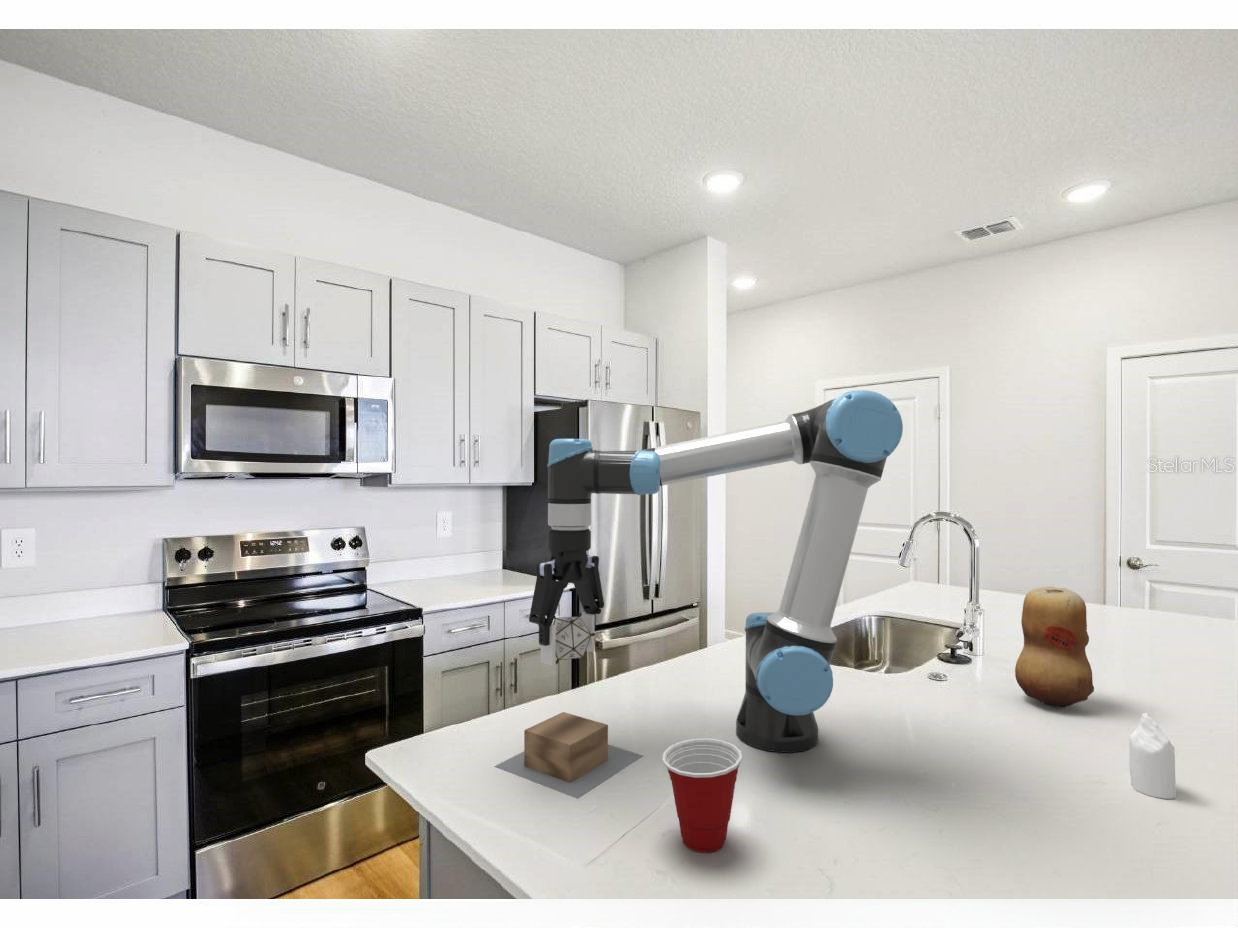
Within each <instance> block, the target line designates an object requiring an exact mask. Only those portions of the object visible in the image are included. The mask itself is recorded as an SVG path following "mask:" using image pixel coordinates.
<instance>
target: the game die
mask: <svg viewBox="0 0 1238 928" xmlns="http://www.w3.org/2000/svg"><path fill="white" fill-rule="evenodd" d="M582 613H583V612H582V611H581V612H579V614H578V616H564V617H556V615H555V616H554V619H553V622H552V625H555V626H556V645H555V665H557V664H559V662H560V661H565V660H573V659H575V660H576V659H582V661H583V662H585V663H586V661H587V660H586V657H584V656H585V654H586V652H587V651H586V649H587V646H588V643H589V640H590V638H591V636H594V637H595V636H596V633H595V632H594V633H592V634H591V633H590V632H589V630H588V629H587V627H586V625H585V624H584V622H583V621H582V619H581V618H580V617H581V615H582Z"/></svg>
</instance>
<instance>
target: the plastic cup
mask: <svg viewBox="0 0 1238 928" xmlns="http://www.w3.org/2000/svg"><path fill="white" fill-rule="evenodd" d="M661 760H662V762H663V764H664V766H665V767H666V769H667V772H668V774H669V779H670V782H671V785H672V786H671V787H672V793H673V797H674V799H673V800H674V803H675V808H676V809H675V810H676V814H677V816H676V817H677V818H678V825H679V829H680V830H679V832H680V837H681V838H682V843H683V844H684V845H685V847H686V848H688V849H690V850H691V851H694V852H697V853H707V854H708V853H715V852H717V851H719V850H721V849H722V848H723V847H724V845H725V841H726V840H727V835H728V827H729V822H730V819H731V814H732V813H731V812H732V806H733V800H734V794H735V788H736V787H735V786H736V782H737V778H738V777H737V776H738V773H739V767H740V764H741V763H742V761H743V755H742V751H741V749H739V747H737V746H736V745H735V744H733V743H731V742H728V741H726V740H720V739H715V738H708V737H707V738H691V739H686V740H681V741H679V742H677V743H674V744H671V745H670V746H668V747H667V748H666V750H665V751H663V752H662V759H661Z"/></svg>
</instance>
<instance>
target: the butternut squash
mask: <svg viewBox="0 0 1238 928" xmlns="http://www.w3.org/2000/svg"><path fill="white" fill-rule="evenodd" d="M1021 629H1022V634H1023V648H1022V650H1021V652H1020V654H1019V656H1018V658H1017V660H1016V662H1015V668H1014V672H1015V673H1014V675H1015V680H1016V683H1017V684H1018V686H1019V687H1020V688H1021V691H1023V693H1024V694H1025V695H1026V696H1027V697H1029V698H1031V699H1035V700H1036V701H1039V702H1040V703H1042V704H1044V705H1045V706H1049V707H1054V708H1061V709H1062V708H1063V709H1065V708H1066V707H1070V706H1072V705H1075V704H1078V703H1081V702H1084V701H1088V698H1089V697H1090V696H1091V695H1092V694H1093V693H1094V692H1095V687H1094V683H1093V682H1094V681H1093V670H1092V667H1091V666H1092V665H1091V664H1090V662H1089V659H1088V656H1087V653H1086V652H1087V651H1086V647H1087V645H1088V644H1089V642H1090V637H1089V634H1088V631H1087V630H1088V621H1087V606H1086V602H1085V600H1084V599H1083V598H1082V597H1081V595H1079V594H1078V593H1076V592H1075V591H1073V590H1072V589H1067V588H1066V587H1065V588H1064V587H1054V586H1044V587H1043V586H1042V587H1038V588H1033V589H1032V590H1030V591H1028V592H1027V593H1026V594H1025V596H1024V599H1023V604H1022V611H1021Z"/></svg>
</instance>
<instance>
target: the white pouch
mask: <svg viewBox="0 0 1238 928" xmlns="http://www.w3.org/2000/svg"><path fill="white" fill-rule="evenodd" d="M1175 750H1176V749H1175V746H1174V745H1173V744H1172V742H1171V740H1170V739H1169V737H1168V736H1167V735H1166V733H1165V732H1163V730H1162V728H1161V727H1160V725H1158V724H1157V723H1156V722H1155V721H1154V720H1153V718H1151V716H1149V714H1148V713H1147V712H1144V713H1142V714H1141V717H1140V719H1139V723H1138V725H1137V727H1136V728H1135V730H1133V732H1132V733H1131V734H1130V735H1129V756H1128V757H1129V761H1128V762H1129V764H1128V766H1129V775H1130V785H1131V787H1132V788H1133V790H1135V791H1136V792H1139V793H1141V794H1144V795H1146V796H1149V797H1153V798H1156V799H1164V800H1174V799H1176V797H1177V791H1176V789H1177V788H1176V786H1177V785H1176V754H1175V752H1176V751H1175Z"/></svg>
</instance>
